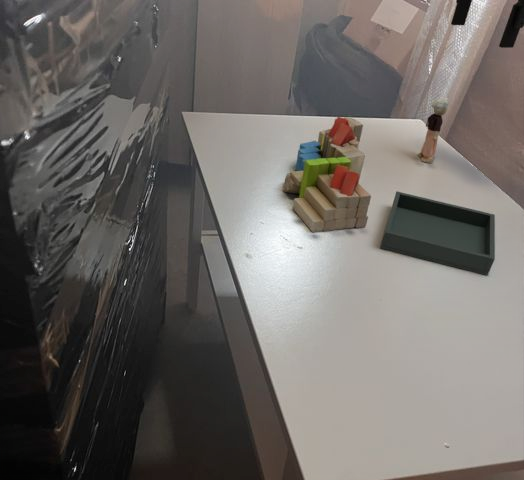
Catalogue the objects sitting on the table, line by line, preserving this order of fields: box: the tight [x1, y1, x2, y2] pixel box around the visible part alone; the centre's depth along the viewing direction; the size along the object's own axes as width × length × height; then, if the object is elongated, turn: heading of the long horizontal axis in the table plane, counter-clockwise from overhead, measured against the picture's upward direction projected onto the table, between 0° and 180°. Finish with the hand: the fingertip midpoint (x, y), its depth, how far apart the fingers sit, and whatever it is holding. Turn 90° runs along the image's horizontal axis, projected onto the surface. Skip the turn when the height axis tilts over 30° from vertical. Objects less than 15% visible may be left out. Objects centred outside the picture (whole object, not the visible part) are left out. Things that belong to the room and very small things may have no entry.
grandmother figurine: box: [417, 96, 450, 164], centre depth 121 cm, size 8×4×13 cm, turn 12°
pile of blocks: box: [282, 116, 372, 233], centre depth 107 cm, size 36×15×11 cm, turn 177°
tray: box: [379, 190, 496, 276], centre depth 99 cm, size 18×16×3 cm
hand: (480, 35), depth 107 cm, fingers open, 13 cm apart
